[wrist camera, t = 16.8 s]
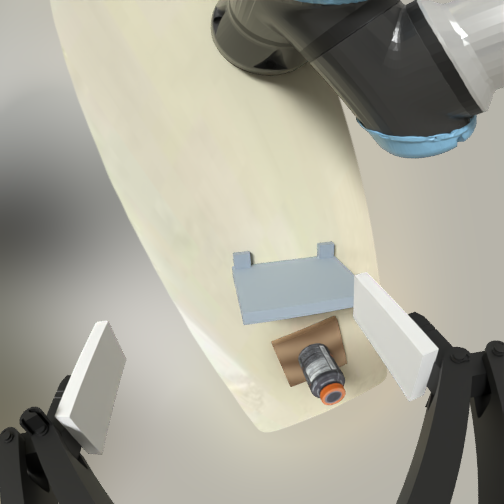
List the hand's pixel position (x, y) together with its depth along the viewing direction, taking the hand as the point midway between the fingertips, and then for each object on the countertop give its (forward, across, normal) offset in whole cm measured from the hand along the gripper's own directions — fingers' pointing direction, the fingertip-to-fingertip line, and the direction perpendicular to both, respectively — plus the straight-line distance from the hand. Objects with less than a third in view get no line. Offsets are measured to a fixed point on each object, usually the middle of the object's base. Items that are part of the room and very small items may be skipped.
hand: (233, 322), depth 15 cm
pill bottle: (+28, +11, -30) cm, 43 cm away
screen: (+29, +8, -12) cm, 32 cm away
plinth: (+29, +11, -31) cm, 43 cm away
